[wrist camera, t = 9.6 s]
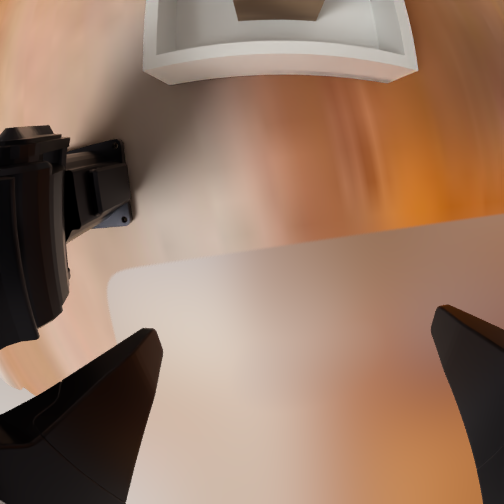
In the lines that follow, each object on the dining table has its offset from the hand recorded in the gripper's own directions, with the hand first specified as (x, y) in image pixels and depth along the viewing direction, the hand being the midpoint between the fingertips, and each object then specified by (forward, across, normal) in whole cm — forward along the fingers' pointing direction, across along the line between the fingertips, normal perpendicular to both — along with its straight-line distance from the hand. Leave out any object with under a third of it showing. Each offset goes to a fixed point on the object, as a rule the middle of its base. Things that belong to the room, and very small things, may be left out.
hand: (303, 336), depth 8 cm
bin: (+12, -1, -17) cm, 21 cm away
